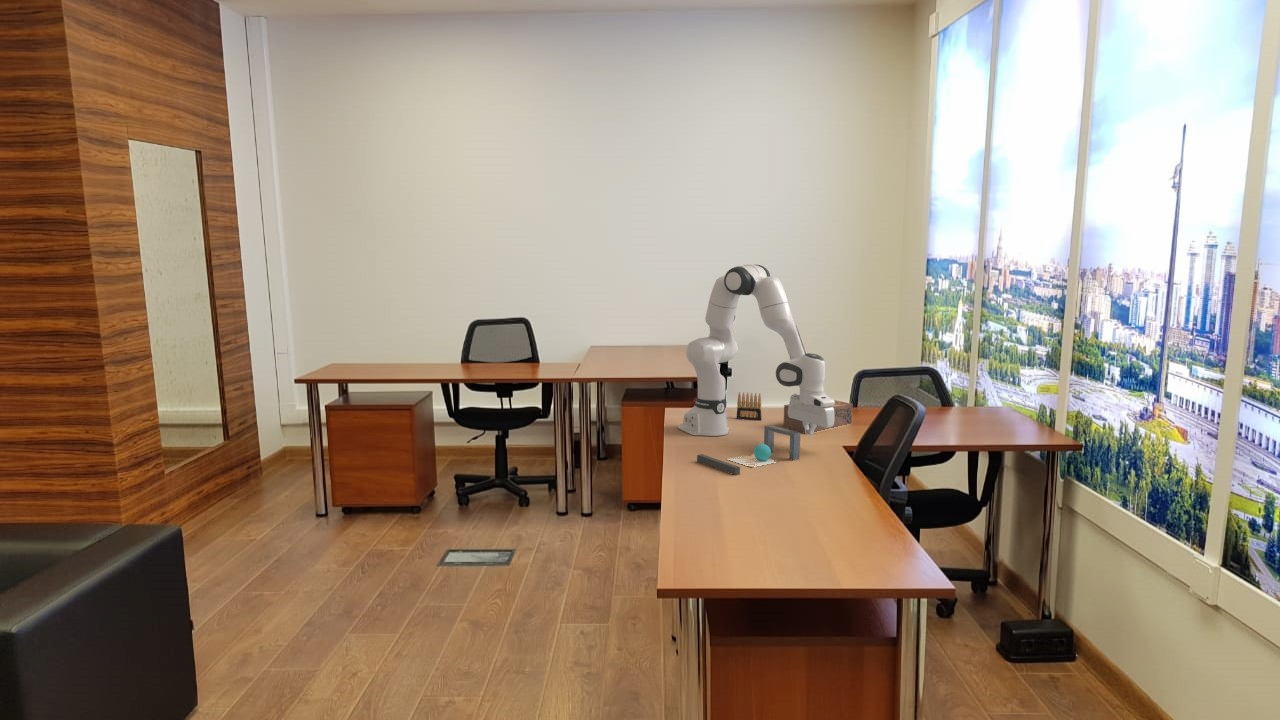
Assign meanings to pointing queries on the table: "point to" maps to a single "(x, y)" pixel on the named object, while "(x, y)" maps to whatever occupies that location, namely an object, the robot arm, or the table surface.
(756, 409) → the ammunition clip
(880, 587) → the table surface
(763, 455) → the ball
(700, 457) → the stopper
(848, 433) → the table surface
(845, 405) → the tissue box cover
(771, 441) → the bridge
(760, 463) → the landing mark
